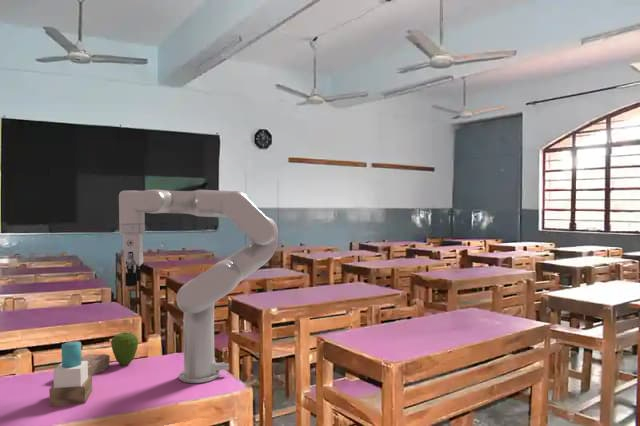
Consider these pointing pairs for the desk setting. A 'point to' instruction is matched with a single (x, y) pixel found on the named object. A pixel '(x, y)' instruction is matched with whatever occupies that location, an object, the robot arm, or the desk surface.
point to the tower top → (70, 375)
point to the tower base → (71, 394)
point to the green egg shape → (124, 347)
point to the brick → (96, 362)
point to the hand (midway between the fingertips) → (133, 283)
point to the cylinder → (71, 354)
